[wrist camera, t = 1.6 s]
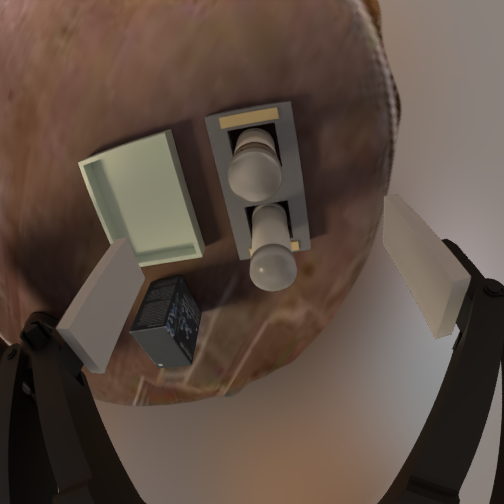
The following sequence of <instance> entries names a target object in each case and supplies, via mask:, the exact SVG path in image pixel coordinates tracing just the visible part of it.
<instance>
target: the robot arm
mask: <svg viewBox="0 0 504 504" xmlns="http://www.w3.org/2000/svg"><path fill="white" fill-rule="evenodd" d="M383 246H384V247H385V249H386V251H387V252H388V254H389V256H390V257H391V259H392V260H393V262H394V264H395V266H396V267H397V269H398V271H399V272H400V274H401V276H402V277H403V279H404V281H405V283H406V284H407V286H408V288H409V290H410V292H411V293H412V295H413V297H414V299H415V301H416V302H417V304H418V306H419V308H420V310H421V312H422V314H423V316H424V318H425V319H426V322H427V324H428V326H429V328H430V330H431V332H432V334H433V336H434V338H435V339H437V338H441V337H444V336H448V335H451V334H452V332H453V329H454V327H455V324H457V326H458V328H459V329H460V332H459V335H458V337H457V339H456V341H455V344H454V346H453V348H452V349H453V354H452V357H451V360H450V363H449V366H448V369H447V371H446V374H445V377H444V380H443V382H442V385H441V387H440V390H439V393H438V395H437V398H436V400H435V402H434V405H433V407H432V410H431V412H430V414H429V416H428V418H427V420H426V423H425V425H424V427H423V429H422V431H421V433H420V435H419V437H418V439H417V441H416V443H415V445H414V447H413V449H412V451H411V452H410V454H409V456H408V458H407V460H406V461H405V463H404V465H403V467H402V468H401V470H400V472H399V473H398V475H397V477H396V478H395V480H394V481H393V483H392V485H391V486H390V488H389V489H388V491H387V492H386V494H385V495H384V496H383V498H382V499H381V500H380V501H379V502H378V504H459V502H460V499H459V496H458V494H459V490H460V488H461V486H462V483H463V481H464V479H465V477H466V475H467V472H468V470H469V468H470V465H471V463H472V460H473V458H474V455H475V453H476V450H477V447H478V445H479V442H480V439H481V436H482V433H483V430H484V427H485V424H486V420H487V417H488V414H489V410H490V406H491V402H492V399H493V395H494V391H495V387H496V382H497V377H498V372H499V367H500V362H501V367H502V421H501V422H502V423H501V436H500V446H499V455H498V462H497V469H496V475H495V480H494V485H493V490H492V495H491V499H490V503H489V504H504V286H503V285H502V284H501V283H500V282H498V281H496V280H494V279H489V278H487V279H485V278H484V276H483V275H482V274H481V273H480V271H479V270H478V269H477V268H476V267H475V265H474V264H473V263H472V262H471V261H470V260H469V259H468V257H467V256H466V255H465V254H464V253H463V252H462V250H461V249H460V248H459V247H458V246H457V245H456V244H455V243H453V242H452V241H450V240H448V239H444V240H441V239H440V238H439V237H438V236H437V235H436V234H435V233H434V232H433V231H432V229H431V228H430V227H429V226H428V225H427V224H426V223H425V222H424V221H423V220H422V219H421V218H420V216H419V215H418V214H417V213H416V212H415V211H414V210H413V209H412V208H411V207H410V206H409V205H408V204H407V203H406V202H405V201H404V200H403V199H402V198H401V197H400V196H399V195H398V194H396V195H387V196H384V221H383ZM144 280H145V277H144V275H143V273H142V270H141V268H140V266H139V264H138V262H137V259H136V257H135V255H134V253H133V250H132V248H131V246H130V243H129V241H128V239H127V237H125V238H120V239H115V241H114V242H113V243H112V245H111V246H110V247H109V249H108V250H107V251H106V253H105V254H104V256H103V257H102V258H101V260H100V261H99V263H98V264H97V265H96V267H95V268H94V270H93V271H92V273H91V274H90V276H89V277H88V278H87V280H86V281H85V283H84V284H83V286H82V287H81V289H80V290H79V292H78V294H77V295H76V296H75V297H74V298H73V299H72V300H71V301H70V303H69V304H68V306H67V308H66V309H65V311H64V312H63V313H64V314H62V316H61V317H60V319H59V321H58V320H56V319H55V318H53V317H51V316H48V315H46V314H43V313H33V314H31V315H30V316H29V318H28V319H27V321H26V322H25V325H24V328H23V330H22V331H21V334H20V338H21V342H20V344H18V343H15V344H13V345H11V346H9V345H8V344H7V343H6V342H5V341H4V340H3V339H2V338H1V337H0V504H146V503H145V502H144V501H143V500H142V498H141V497H140V495H139V494H138V492H137V490H136V489H135V487H134V485H133V483H132V482H131V480H130V478H129V476H128V474H127V473H126V471H125V469H124V467H123V465H122V463H121V461H120V459H119V457H118V455H117V453H116V451H115V449H114V447H113V445H112V442H111V440H110V438H109V436H108V434H107V431H106V429H105V427H104V424H103V422H102V420H101V417H100V415H99V412H98V410H97V407H96V405H95V402H94V399H93V397H92V394H91V391H90V388H89V385H88V382H87V379H86V376H85V375H84V373H83V372H82V371H81V369H82V366H83V364H84V365H85V366H86V368H87V369H88V370H89V371H90V372H91V373H103V374H104V372H105V369H106V367H107V364H108V362H109V359H110V357H111V354H112V352H113V350H114V347H115V345H116V342H117V340H118V338H119V335H120V333H121V331H122V328H123V326H124V324H125V321H126V319H127V317H128V315H129V312H130V310H131V308H132V306H133V304H134V301H135V299H136V297H137V295H138V293H139V291H140V288H141V286H142V284H143V282H144ZM57 486H58V487H57ZM58 489H59V494H58Z"/></svg>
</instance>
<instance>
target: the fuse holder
mask: <svg viewBox="0 0 504 504" xmlns="http://www.w3.org/2000/svg"><path fill="white" fill-rule="evenodd" d="M204 118H205V122H206V127H207V131H208V135H209V139H210V143H211V147H212V151H213V155H214V159H215V163H216V167H217V171H218V175H219V179H220V183H221V187H222V191H223V195H224V199H225V203H226V207H227V211H228V215H229V219H230V223H231V227H232V231H233V235H234V239H235V243H236V246H237V250H238V254H239V258H240V260H245V259H251V257H252V229H251V225H250V220H249V216H248V211H247V207H250V206H256V205H262V204H268V203H274V202H280V201H286V200H287V202H288V209H289V215H290V222H291V230H288V231H289V236H290V241H291V247H292V252H297V251H303V250H310V249H311V244H310V235H309V226H308V217H307V208H306V200H305V192H304V185H303V177H302V170H301V163H300V156H299V149H298V143H297V137H296V130H295V124H294V118H293V112H292V107H291V101H289V100H287V101H280V102H273V103H267V104H261V105H255V106H249V107H244V108H239V109H234V110H229V111H224V112H220V113H215V114H211V115H207V116H206V117H204ZM268 123H274V125H275V131H276V136H277V142H278V147H279V153H280V159H281V162H280V165H281V169H282V173H283V180H282V185H281V187H280V189H279V191H278V192H277V193H276V194H275V195H274V196H273V197H272V198H270V199H269V200H267V201H264V202H259V203H250V202H246V201H243V200H241V199H239V198H238V197H236V196H235V195H234V194H233V192H232V191H231V190H230V188H229V186H228V183H227V171H228V167H229V164H230V161H231V159H232V157H233V154H234V148H233V144H232V139H231V135H230V130H235V129H240V128H246V127H251V126H257V125H262V124H268Z"/></svg>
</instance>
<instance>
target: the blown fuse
mask: <svg viewBox="0 0 504 504" xmlns="http://www.w3.org/2000/svg"><path fill="white" fill-rule="evenodd" d="M282 180H283V173H282V169H281V165H280V162H279V160H278V157H277V155H276V151H275V144H274V140H273V137H272V136H271V134H270V133H269V132H268V131H267V130H265V129H263V128H260V127H250V128H247V129H246V130H244V131H243V132H242V133H241V134H240V135H239V137H238V139H237V143H236V149H235V152H234V154H233V157H232V159H231V161H230V164H229V167H228V171H227V183H228V186H229V188H230V190H231V191H232V192H233V194H234V195H235V196H236V197H238V198H239V199H241V200H243V201H246V202H250V203H259V202H264V201H267V200H269V199H270V198H272V197H273V196H274V195H275V194H276V193H277V192H278V191H279V189H280V187H281V185H282Z"/></svg>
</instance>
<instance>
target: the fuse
mask: <svg viewBox="0 0 504 504" xmlns="http://www.w3.org/2000/svg"><path fill="white" fill-rule="evenodd" d="M296 275H297V268H296V263H295V258H294V255H293V252H292V247H291V241H290V236H289V231H288V225H287V216H286V211H285V208H284V207H283V205H282V204H281V203H279V202H274V203H268V204H262V205H256V206H255V207H254V208H253V211H252V257H251V260H250V277H251V280H252V281H253V283H254V284H255V285H256V286H257V287H259V288H261V289H263V290H266V291H279V290H282V289H285V288H287V287H288V286H290V285H291V284H292V283H293V281H294V280H295V278H296Z"/></svg>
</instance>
